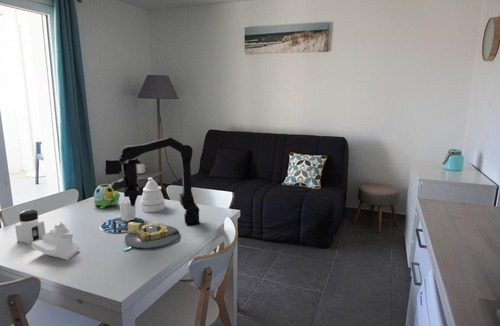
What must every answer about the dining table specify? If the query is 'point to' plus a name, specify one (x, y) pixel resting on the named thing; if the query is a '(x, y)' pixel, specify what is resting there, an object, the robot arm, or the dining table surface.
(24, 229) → the container
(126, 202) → the white cup
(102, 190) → the turtle holder
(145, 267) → the dining table surface
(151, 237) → the gold block ring
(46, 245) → the white stepped peaked piece
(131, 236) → the grey round shallow disc
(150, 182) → the honey pot
